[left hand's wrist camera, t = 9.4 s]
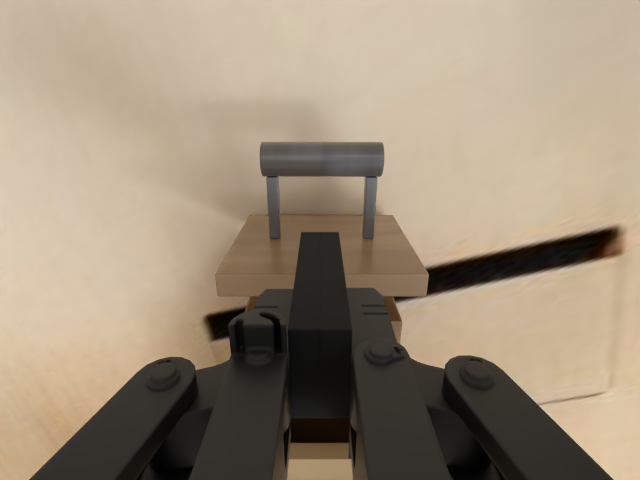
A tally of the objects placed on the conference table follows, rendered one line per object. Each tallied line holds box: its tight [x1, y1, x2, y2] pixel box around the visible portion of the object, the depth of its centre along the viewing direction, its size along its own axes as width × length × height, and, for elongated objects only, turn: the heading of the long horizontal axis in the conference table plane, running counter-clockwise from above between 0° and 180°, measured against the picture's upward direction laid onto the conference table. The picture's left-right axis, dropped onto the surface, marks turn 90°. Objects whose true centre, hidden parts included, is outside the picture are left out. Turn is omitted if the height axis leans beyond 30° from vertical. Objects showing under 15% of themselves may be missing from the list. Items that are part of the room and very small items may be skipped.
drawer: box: [215, 142, 429, 443], centre depth 24 cm, size 26×10×9 cm, turn 0°
